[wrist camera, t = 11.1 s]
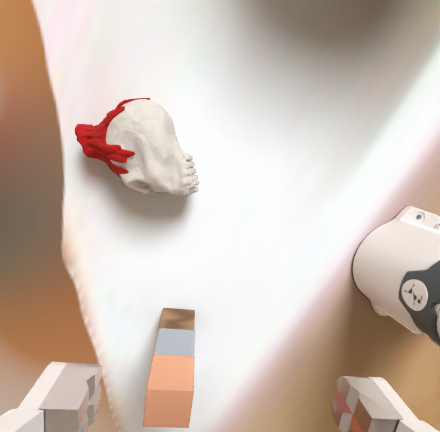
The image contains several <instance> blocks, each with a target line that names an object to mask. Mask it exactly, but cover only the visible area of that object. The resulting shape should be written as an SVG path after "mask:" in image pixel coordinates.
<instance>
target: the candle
mask: <svg viewBox="0 0 440 432" xmlns="http://www.w3.org/2000/svg"><path fill="white" fill-rule="evenodd" d="M75 134H76V136H77V141H78V142H79V143H80V144H81V145H82V148H83V153H84V154H85V155H87V156H88V157H90V158H97V159H100V160H102V161H104V162H105V163H107V164H108V166H109V167H110V169H111V170H112V171H113V172H114V173H116V174H117V175H118V176H119V177H120V178H121V179H122V181H123V183H124V184H125V185H126V186H127V187H129V188H130V189H133V190H135V191H137V192H141V193H144V194H147V193H148V192H151V191H152V190H154V191H155V192H157V193H158V192H166V193H169V194H174V195H182V196H187V195H190V194H192V193H194V192H197V191H198V186H196V185H197V184H199V181H195V180H197V179H198V176H197V175H193V174H194V173H196V170H195V168H193V166H194V162H193V161H191V160H192V159H193V158H192V156H191V155H188V154H185V153H184V152H183V151H182V149H181V148H180V145H179V143H178V140H177V137H176V134H175V129H174V124H173V121H172V119H171V117H170V115H169V114H168V113H167V112H166V111H165V109H164V108H163V107H162V106H160V105H158V104H157V103H155V102H153V101H150V98H139V99H129V100H124V101H122V102H121V103H119V104H118V106H117V107H116V109H115V110H112V111H110V112H109V113H107V116H106V118H104V119H103V121H102V122H101V123H100V124H99V125H96V126H93V125H86V124H77V126H76V128H75Z"/></svg>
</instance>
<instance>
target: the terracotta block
mask: <svg viewBox="0 0 440 432" xmlns="http://www.w3.org/2000/svg"><path fill="white" fill-rule="evenodd" d="M193 393H194V356H176V355H158V354H154V357H153V361H152V366H151V370H150V375H149V380H148V384H147V389H146V399H145V411H144V422H143V427H178V428H189V422H190V414H191V407H192V400H193Z"/></svg>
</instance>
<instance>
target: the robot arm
mask: <svg viewBox="0 0 440 432" xmlns="http://www.w3.org/2000/svg"><path fill="white" fill-rule="evenodd" d="M417 215H418V217H417ZM416 217H417V218H416ZM353 276H354V280H355V283H356V285H357V287H358V288H359V290H360V291H361V292H362V293H363V294H364V295H365V296H366V297H368V298H369V300H370V301H371V304H372V307H373V309H374V311H375V312H376V313H378V314H379V315H381V316H391V317H392V318H394V319H395V320H396V321H398V322H399V323H401V324H402V325H403V326H405V327H406V328H408V329H409V330H410V331H412V332H413V333H415V334H425V335H426V336H427V337H428V338H429V339H430V340H431V341H433V342H434V343H435V344H437V345H439V346H440V216H438V215H436V214H433V213H430V212H427V211H424V210H422V209H419V208H416V207H413V206H408V207H406V208H405V209H403V210H402V211H401V212H400V213H399V214H398V215H397V216H396V217H395V218H394V219H393V220H391V221H390V222H388V223H385V224H383V225H381V226H380V227H378V228H376V229H375V230H374V231H372V232H371V233H370V234H369V235H368V236H367V237H366V238H365V239H364V240H363V242H362V243H361V245H360V246H359V248H358V250H357V252H356V255H355V258H354V262H353ZM101 376H102V366H101V365H95V364H82V363H62V362H51V363H50V364H49V365H48V366H47V367H46V368H45V370H44V371H43V373H42V374H41V375H40V377H39V378H38V380H37V381H36V383H35V384H34V385H33V387H32V388H31V390H30V391H29V392H28V394H27V396H26V397H25V398H24V400H23V401H22V402H21V404H20V405H19V407H18V408H17V409H11V410H9V411H7V412H6V413H4V414H3V415H1V416H0V432H88V426H89V425H90V424H91V423H93V422H94V419H95V416H96V414H97V411H98V407H99V403H100V398H101V387H102V386H101V385H100V384H99V381H100V378H101ZM336 386H337V388H338V390H339V391H338V392H336V393H335V394H334V395H333V399H332V403H331V404H332V414H333V417H334V420H335V422H336V424H337V426H338V428H339V429H340V430H341V431H342V432H439V431H437V430H436V429H434V428H433V427H432V426H430V425H429V424H427V423H426V422H424V421H419V420H418V419H417V418H416V416H415V415H414V414H413V413H412V412H411V410H410V409H409V408H408V407H407V406H406V404H405V403H404V402H403V401H402V399H401V398H400V397H399V396H398V395H397V393H396V392H395V391H394V390H393V388H392V387H391V386H390V385H389V384H388V382H387V381H386V380H385V379H383V378H382V377H355V376H340V377H339V378H338V381H337V384H336Z"/></svg>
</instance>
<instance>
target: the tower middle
mask: <svg viewBox="0 0 440 432" xmlns="http://www.w3.org/2000/svg"><path fill="white" fill-rule="evenodd" d="M194 338H195V330H181V329H166V328H159V333H158V337H157V342H156V346H155V351H154V354H158V355H176V356H194Z"/></svg>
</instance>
